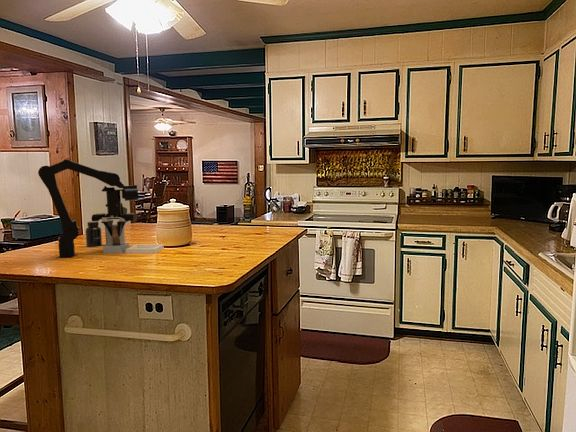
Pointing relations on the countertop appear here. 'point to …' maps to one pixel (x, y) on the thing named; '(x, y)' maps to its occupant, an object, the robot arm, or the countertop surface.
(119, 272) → the countertop surface
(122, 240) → the cup
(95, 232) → the supplement bottle
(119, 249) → the grey square peg base
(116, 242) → the dowel
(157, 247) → the tray
